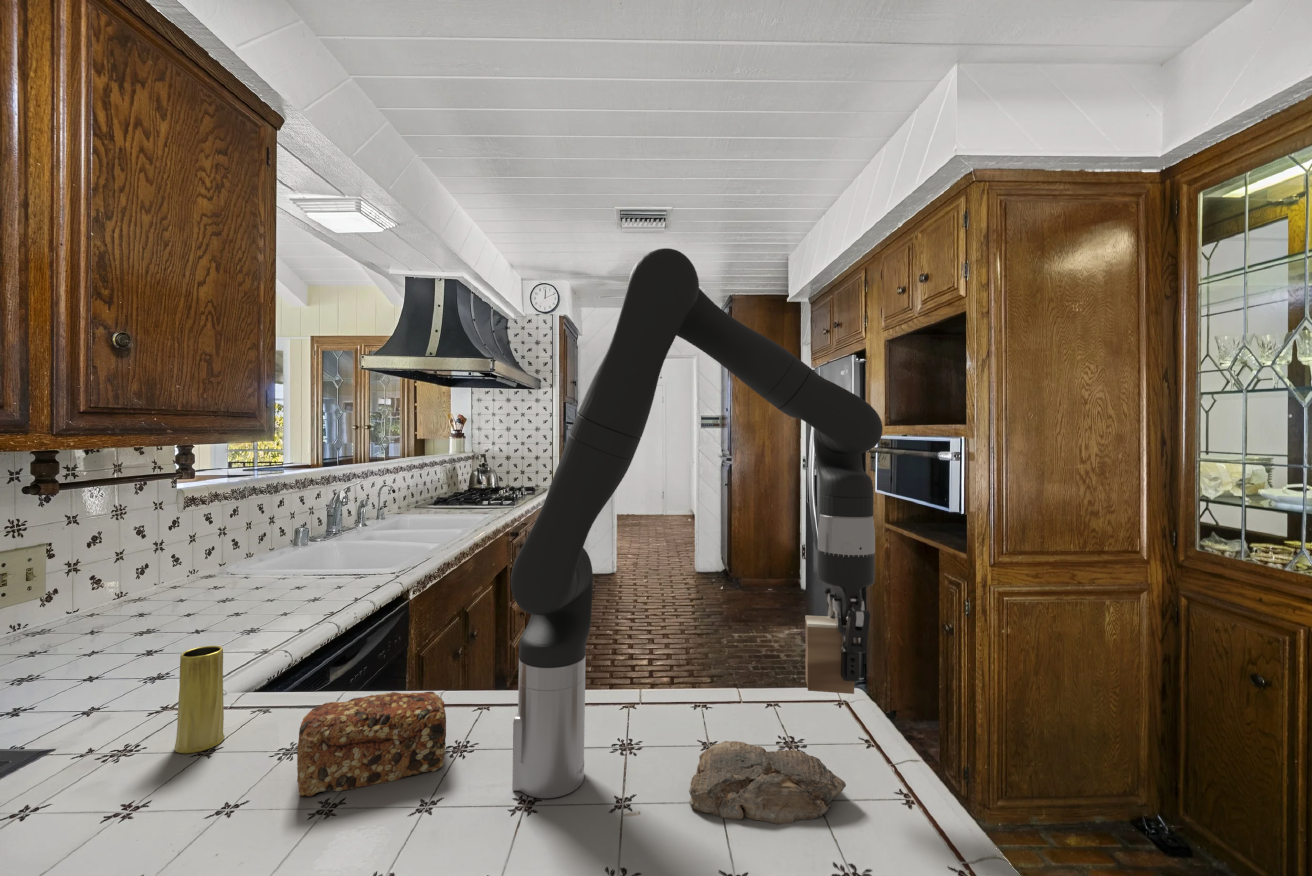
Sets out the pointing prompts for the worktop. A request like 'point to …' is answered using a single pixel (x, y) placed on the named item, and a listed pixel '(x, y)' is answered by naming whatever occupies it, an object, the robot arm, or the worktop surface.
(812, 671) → the walnut block
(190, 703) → the vase
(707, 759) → the clay tablet
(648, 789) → the worktop surface
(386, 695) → the bread
